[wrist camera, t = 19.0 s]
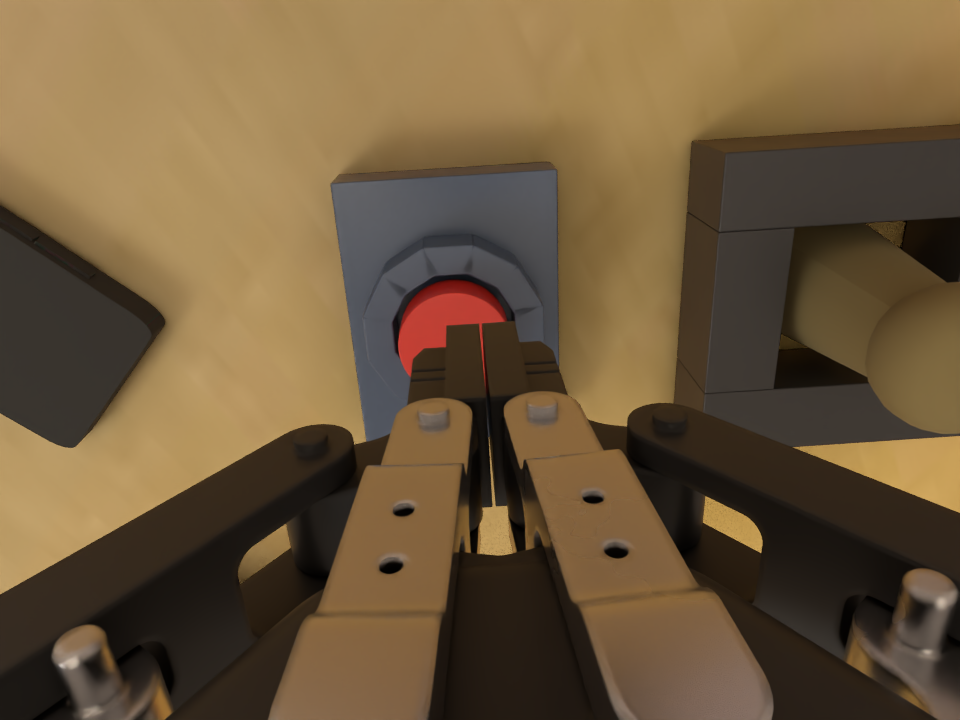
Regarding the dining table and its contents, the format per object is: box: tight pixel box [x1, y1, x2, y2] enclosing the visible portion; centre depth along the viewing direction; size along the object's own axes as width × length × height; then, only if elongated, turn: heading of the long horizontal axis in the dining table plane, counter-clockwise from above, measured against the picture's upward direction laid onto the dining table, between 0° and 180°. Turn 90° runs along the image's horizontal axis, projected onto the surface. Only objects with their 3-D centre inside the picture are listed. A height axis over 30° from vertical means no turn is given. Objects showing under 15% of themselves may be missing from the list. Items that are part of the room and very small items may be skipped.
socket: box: [674, 125, 960, 447], centre depth 30 cm, size 13×13×4 cm
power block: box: [331, 162, 559, 442], centre depth 30 cm, size 12×9×4 cm
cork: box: [781, 223, 960, 434], centre depth 27 cm, size 6×6×11 cm
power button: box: [398, 280, 507, 380], centre depth 28 cm, size 4×4×2 cm
